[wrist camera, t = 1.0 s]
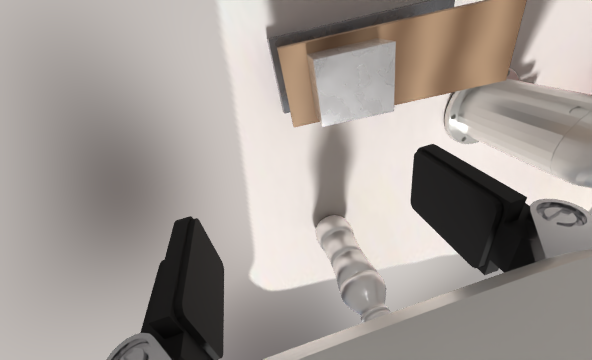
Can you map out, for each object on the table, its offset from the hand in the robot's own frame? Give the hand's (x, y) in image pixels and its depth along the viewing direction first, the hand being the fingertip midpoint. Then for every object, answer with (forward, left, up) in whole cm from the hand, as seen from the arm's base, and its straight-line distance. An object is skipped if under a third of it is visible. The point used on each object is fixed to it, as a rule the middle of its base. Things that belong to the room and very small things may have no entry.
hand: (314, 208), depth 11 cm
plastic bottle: (-7, +28, -27) cm, 39 cm away
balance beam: (-14, 0, -19) cm, 24 cm away
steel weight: (-9, 0, -18) cm, 20 cm away
